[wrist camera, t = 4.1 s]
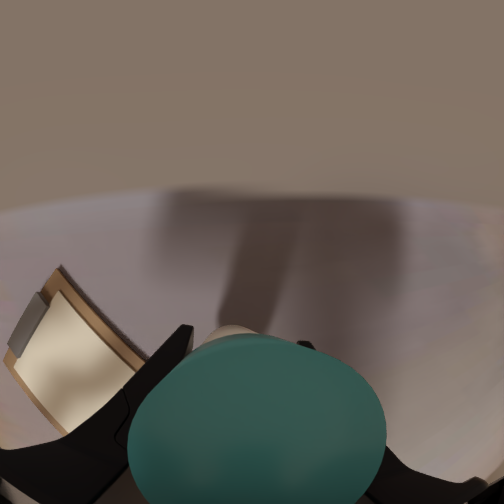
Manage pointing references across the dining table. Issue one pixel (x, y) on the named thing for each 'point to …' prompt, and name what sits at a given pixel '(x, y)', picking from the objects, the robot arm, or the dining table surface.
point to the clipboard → (67, 356)
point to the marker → (257, 426)
